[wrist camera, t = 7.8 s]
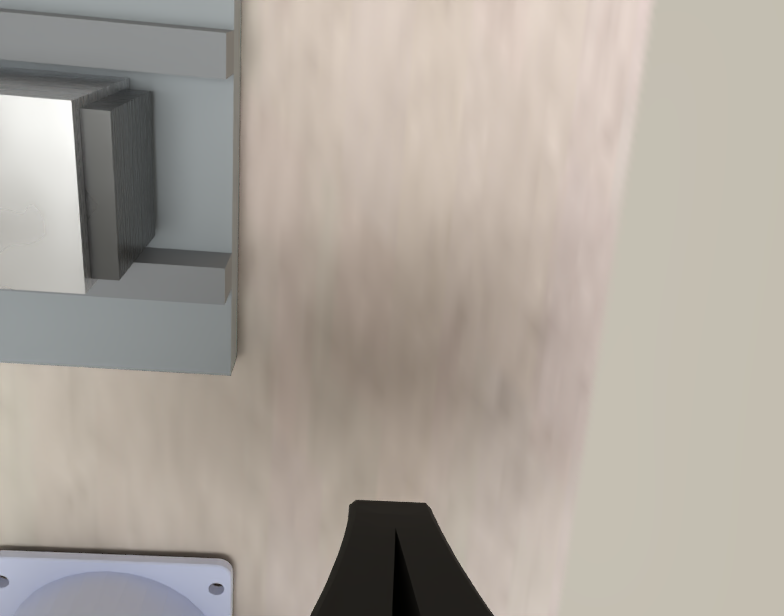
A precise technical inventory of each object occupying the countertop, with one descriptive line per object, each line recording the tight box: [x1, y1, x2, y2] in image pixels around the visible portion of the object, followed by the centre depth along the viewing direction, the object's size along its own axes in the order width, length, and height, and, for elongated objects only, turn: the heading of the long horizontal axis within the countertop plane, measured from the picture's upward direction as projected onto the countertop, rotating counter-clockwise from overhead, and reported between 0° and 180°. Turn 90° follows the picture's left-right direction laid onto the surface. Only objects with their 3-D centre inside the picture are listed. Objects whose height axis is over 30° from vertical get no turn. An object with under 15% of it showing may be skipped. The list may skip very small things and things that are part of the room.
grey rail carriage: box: [0, 67, 155, 294], centre depth 17 cm, size 4×6×4 cm
